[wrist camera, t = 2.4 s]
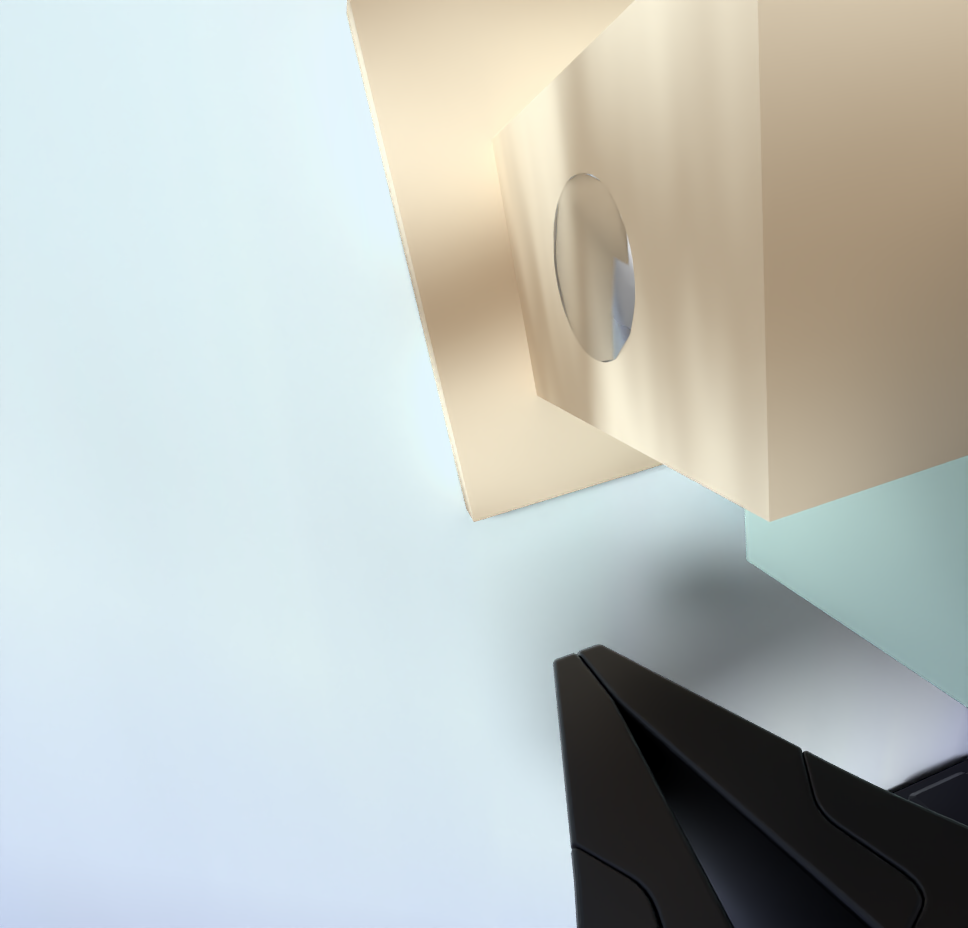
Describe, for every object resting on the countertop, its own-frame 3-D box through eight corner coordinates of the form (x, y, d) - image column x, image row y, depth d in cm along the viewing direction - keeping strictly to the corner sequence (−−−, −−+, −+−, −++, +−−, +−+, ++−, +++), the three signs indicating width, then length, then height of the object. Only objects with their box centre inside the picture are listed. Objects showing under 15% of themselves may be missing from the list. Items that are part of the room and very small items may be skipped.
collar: (826, 532, 15) (1134, 687, 9) (746, 560, 14) (1016, 740, 9) (836, 30, 11) (1400, -263, 5) (726, 49, 10) (1203, -246, 5)
